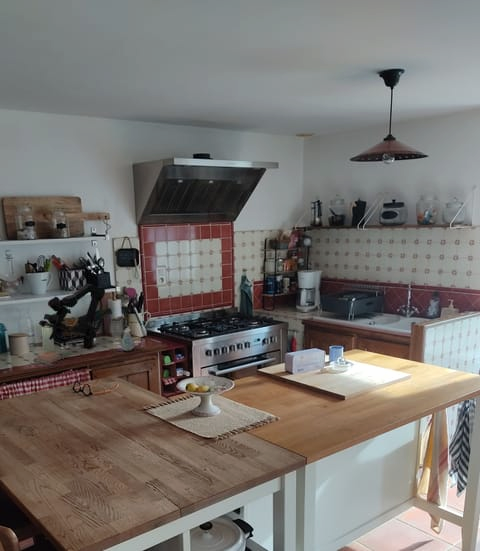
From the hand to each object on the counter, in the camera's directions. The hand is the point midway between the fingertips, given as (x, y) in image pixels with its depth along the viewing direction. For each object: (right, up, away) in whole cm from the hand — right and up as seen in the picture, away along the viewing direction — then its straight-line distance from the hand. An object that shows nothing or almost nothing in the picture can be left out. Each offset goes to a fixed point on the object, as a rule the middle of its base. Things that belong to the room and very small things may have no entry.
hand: (45, 338), depth 281 cm
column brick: (+1, -6, +2) cm, 7 cm away
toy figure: (+42, -10, +21) cm, 48 cm away
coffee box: (+33, -8, +41) cm, 53 cm away
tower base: (+1, -13, +3) cm, 13 cm away
